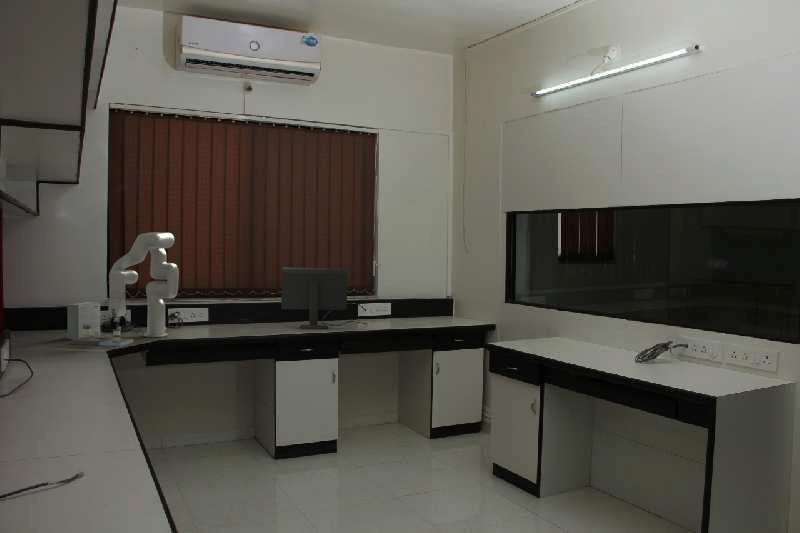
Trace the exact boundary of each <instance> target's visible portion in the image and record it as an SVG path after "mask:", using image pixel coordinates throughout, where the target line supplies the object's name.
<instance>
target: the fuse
mask: <svg viewBox="0 0 800 533" xmlns="http://www.w3.org/2000/svg"><path fill="white" fill-rule="evenodd" d="M90 330H91V325H83V339H91V338H90Z"/></svg>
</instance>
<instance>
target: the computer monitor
mask: <svg viewBox="0 0 800 533" xmlns="http://www.w3.org/2000/svg"><path fill="white" fill-rule="evenodd" d="M348 272H349V270H348V268H335V267H334V268H331V267H330V268H329V267H328V268H325V267H322V268H321V267H286V266H285V267H284V266H283V267H282V268H281V299H280V300H281V301H280V302H281V303H280V304H281V306H280V307H281V310H309V319H308V320H309V323H308V324H307V323H305V324H304V323H303V324H301V325H299V329H300V328H320V329H319V330H326V329H328V326H327V325H328V324H319V323H318V321H319V320H318V318H319V315H318V314H319V310H322V311H347V310H348V305H347V304H348V276H349V275H348V274H349V273H348Z"/></svg>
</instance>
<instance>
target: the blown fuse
mask: <svg viewBox="0 0 800 533" xmlns="http://www.w3.org/2000/svg"><path fill="white" fill-rule="evenodd" d="M121 331H122V326H117V329H112V332H113V333H112V337H113V342H112V343H122V342H121V341H120V339H121Z"/></svg>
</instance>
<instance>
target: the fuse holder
mask: <svg viewBox="0 0 800 533" xmlns="http://www.w3.org/2000/svg"><path fill="white" fill-rule="evenodd" d="M90 338H91V339H83V337H82V338H78V339H70V345H83V346H84V345H85V346H87V345H89V346H99V342H103V341H107V340H110V339H113V336H111V335H109V334H108V335H107V334H105V335H103V336H101V335H100V336H97V335H90Z"/></svg>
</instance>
